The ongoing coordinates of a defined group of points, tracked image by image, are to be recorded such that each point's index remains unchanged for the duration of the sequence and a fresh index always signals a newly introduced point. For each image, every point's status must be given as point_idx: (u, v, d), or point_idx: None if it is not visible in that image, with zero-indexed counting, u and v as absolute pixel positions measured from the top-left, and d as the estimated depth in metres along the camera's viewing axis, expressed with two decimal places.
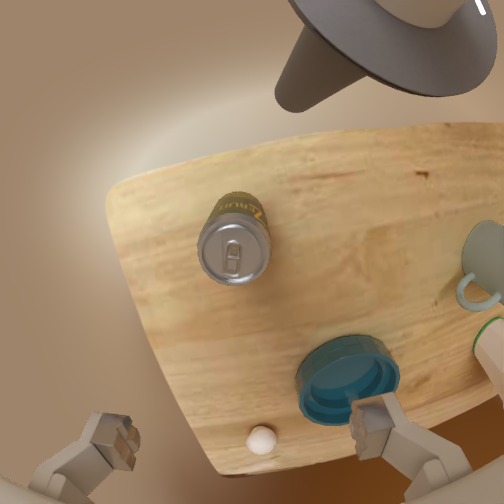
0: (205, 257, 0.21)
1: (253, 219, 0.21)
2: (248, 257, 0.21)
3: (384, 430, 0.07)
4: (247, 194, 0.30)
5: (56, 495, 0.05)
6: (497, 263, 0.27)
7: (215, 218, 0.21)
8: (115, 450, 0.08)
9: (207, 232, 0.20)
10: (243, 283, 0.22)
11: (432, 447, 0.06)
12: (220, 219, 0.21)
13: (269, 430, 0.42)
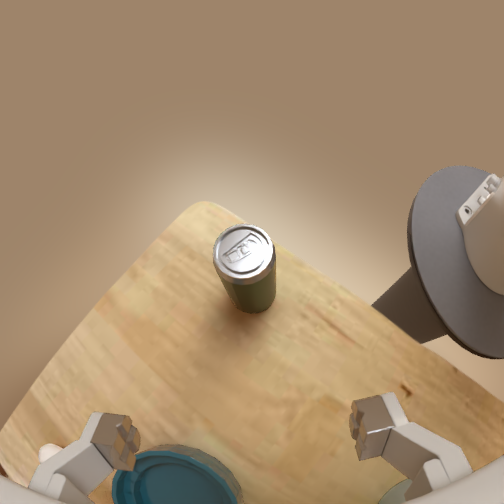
0: (224, 238, 0.26)
1: (274, 249, 0.26)
2: (248, 260, 0.25)
3: (384, 430, 0.07)
4: None
5: (56, 495, 0.05)
6: None
7: None
8: (115, 450, 0.08)
9: (244, 225, 0.26)
10: (226, 272, 0.24)
11: (432, 447, 0.06)
12: None
13: None
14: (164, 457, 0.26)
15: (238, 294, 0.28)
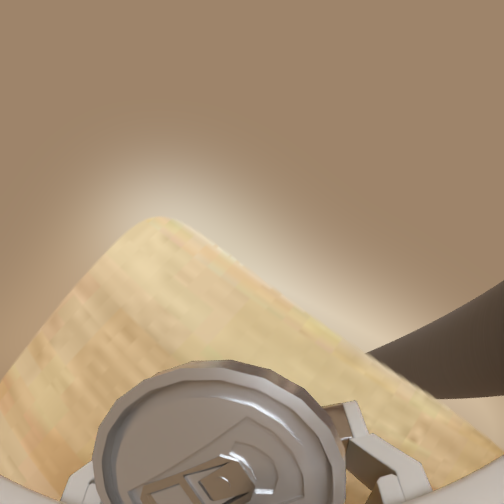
0: (137, 416, 0.05)
1: (344, 461, 0.05)
2: None
3: (341, 440, 0.07)
4: None
5: None
6: None
7: (266, 371, 0.06)
8: None
9: (215, 374, 0.05)
10: None
11: (390, 461, 0.06)
12: (278, 384, 0.05)
13: None
14: None
15: None
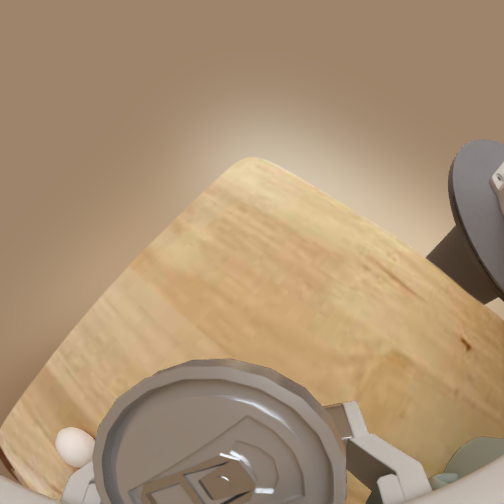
0: (137, 414, 0.05)
1: (344, 460, 0.05)
2: None
3: None
4: None
5: None
6: (498, 454, 0.15)
7: (267, 370, 0.06)
8: None
9: (215, 372, 0.05)
10: None
11: (390, 461, 0.06)
12: (278, 383, 0.05)
13: None
14: None
15: None
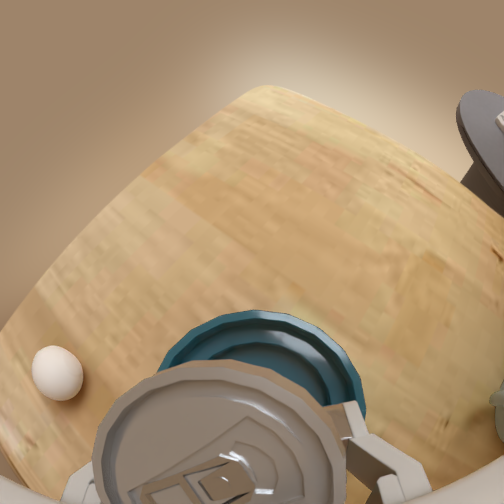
0: (136, 415, 0.05)
1: (344, 461, 0.05)
2: None
3: None
4: None
5: None
6: None
7: (266, 370, 0.06)
8: None
9: (215, 373, 0.05)
10: None
11: (390, 461, 0.06)
12: (278, 384, 0.05)
13: (81, 375, 0.21)
14: (240, 335, 0.21)
15: None
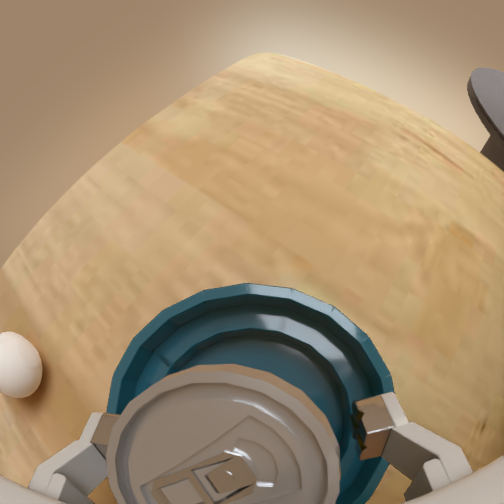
0: (147, 416, 0.06)
1: (338, 457, 0.05)
2: None
3: (384, 430, 0.07)
4: None
5: (56, 495, 0.05)
6: None
7: (267, 374, 0.06)
8: None
9: (220, 377, 0.06)
10: None
11: (432, 446, 0.06)
12: (278, 386, 0.06)
13: (39, 369, 0.16)
14: (229, 319, 0.16)
15: None
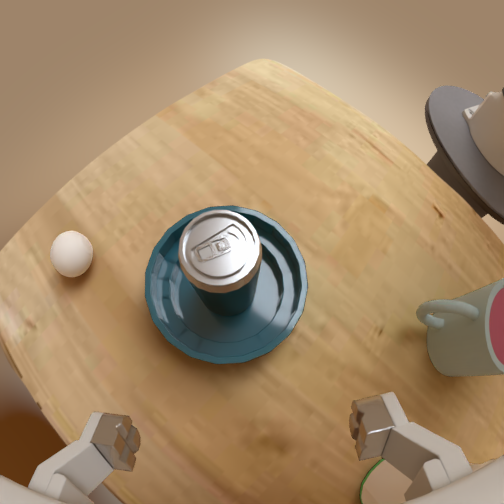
0: (197, 226, 0.19)
1: (261, 249, 0.19)
2: (224, 262, 0.18)
3: (384, 430, 0.07)
4: None
5: (56, 495, 0.05)
6: (481, 288, 0.23)
7: None
8: (115, 450, 0.08)
9: (225, 211, 0.19)
10: (192, 274, 0.18)
11: (432, 446, 0.06)
12: None
13: (92, 256, 0.29)
14: None
15: (207, 299, 0.21)
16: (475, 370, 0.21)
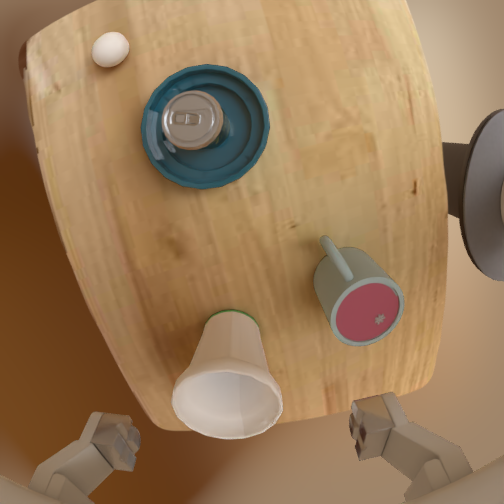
0: (186, 96, 0.23)
1: (217, 134, 0.24)
2: (186, 131, 0.23)
3: (384, 430, 0.07)
4: None
5: (56, 495, 0.05)
6: (374, 267, 0.33)
7: (218, 104, 0.23)
8: (115, 450, 0.08)
9: (208, 97, 0.22)
10: (164, 128, 0.23)
11: (432, 447, 0.06)
12: (218, 108, 0.23)
13: (125, 56, 0.29)
14: (229, 82, 0.31)
15: None
16: (324, 311, 0.36)
